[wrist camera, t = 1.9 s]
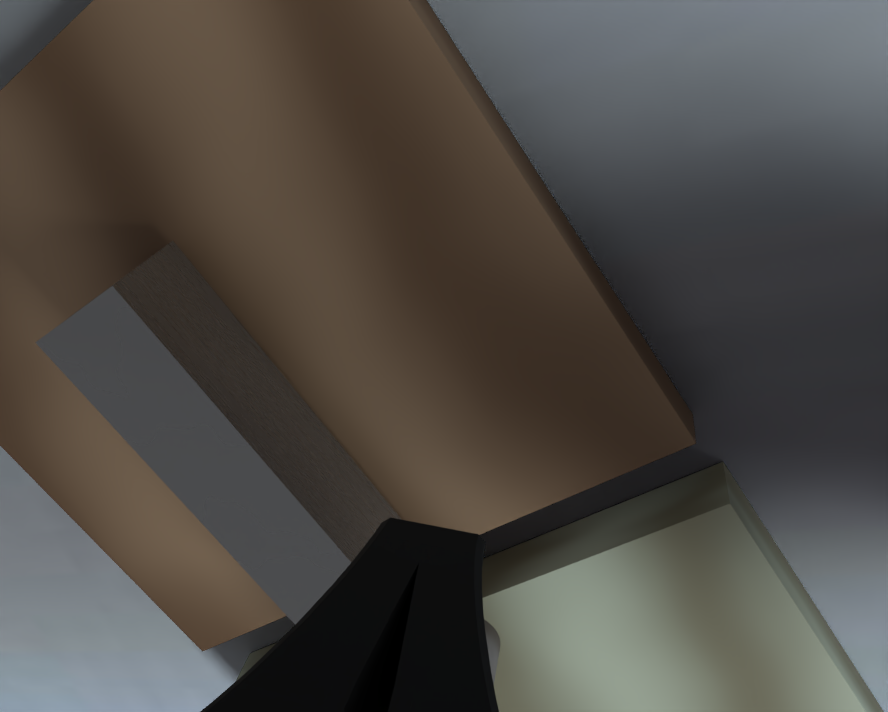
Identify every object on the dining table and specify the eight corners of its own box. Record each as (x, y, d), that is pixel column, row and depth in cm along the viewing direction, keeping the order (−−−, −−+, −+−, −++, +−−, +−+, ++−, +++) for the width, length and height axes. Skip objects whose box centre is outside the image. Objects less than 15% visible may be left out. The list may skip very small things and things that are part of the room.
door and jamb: (309, -182, 15) (218, -205, 12) (924, 774, 23) (973, 921, 20) (-140, 246, 22) (-280, 309, 18) (462, 875, 30) (441, 997, 27)
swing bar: (545, 674, 22) (532, 791, 19) (445, 706, 23) (420, 820, 20) (185, 230, 17) (98, 295, 15) (90, 301, 19) (-6, 373, 16)
